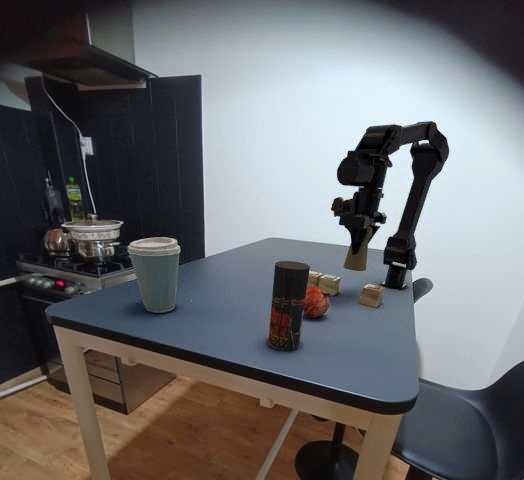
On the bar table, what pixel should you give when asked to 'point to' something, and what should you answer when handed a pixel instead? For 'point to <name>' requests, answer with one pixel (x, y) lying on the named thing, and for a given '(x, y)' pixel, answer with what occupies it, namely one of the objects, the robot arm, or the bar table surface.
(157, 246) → the disposable coffee cup
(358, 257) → the olive tapered pawn
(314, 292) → the pomegranate
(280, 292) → the deodorant
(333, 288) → the block
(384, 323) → the bar table surface
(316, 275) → the block
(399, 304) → the bar table surface
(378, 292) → the block
